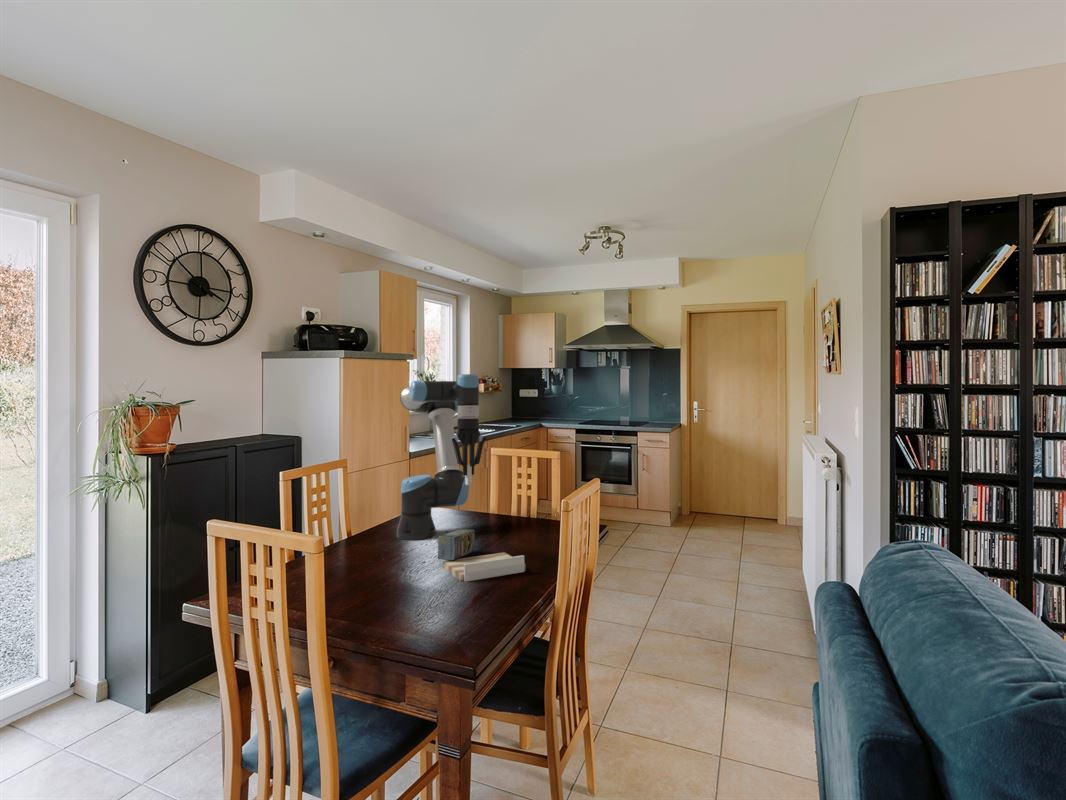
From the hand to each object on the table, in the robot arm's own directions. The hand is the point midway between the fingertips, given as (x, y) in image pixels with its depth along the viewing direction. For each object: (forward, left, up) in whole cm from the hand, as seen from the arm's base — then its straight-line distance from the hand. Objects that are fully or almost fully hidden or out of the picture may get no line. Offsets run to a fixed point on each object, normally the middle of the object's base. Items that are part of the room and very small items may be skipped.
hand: (468, 484), depth 194 cm
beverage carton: (-1, +1, -26) cm, 26 cm away
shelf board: (+18, -2, -25) cm, 31 cm away
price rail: (+27, -2, -25) cm, 37 cm away
